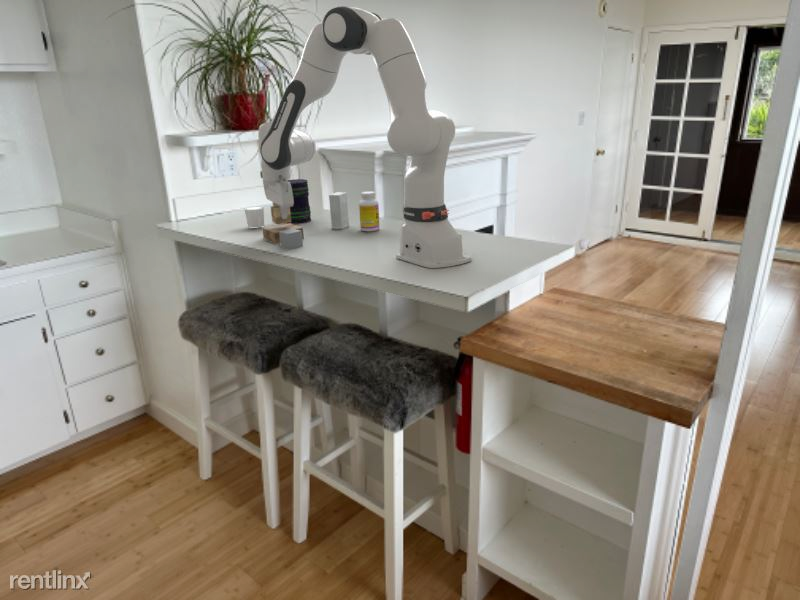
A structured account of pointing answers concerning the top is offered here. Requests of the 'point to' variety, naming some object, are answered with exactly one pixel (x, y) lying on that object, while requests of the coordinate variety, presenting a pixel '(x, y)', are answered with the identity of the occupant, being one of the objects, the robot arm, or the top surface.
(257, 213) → the shot glass
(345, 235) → the top surface
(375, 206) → the supplement bottle
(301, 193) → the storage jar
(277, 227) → the walnut block
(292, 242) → the grey cube
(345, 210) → the skincare box
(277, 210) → the oak cube
